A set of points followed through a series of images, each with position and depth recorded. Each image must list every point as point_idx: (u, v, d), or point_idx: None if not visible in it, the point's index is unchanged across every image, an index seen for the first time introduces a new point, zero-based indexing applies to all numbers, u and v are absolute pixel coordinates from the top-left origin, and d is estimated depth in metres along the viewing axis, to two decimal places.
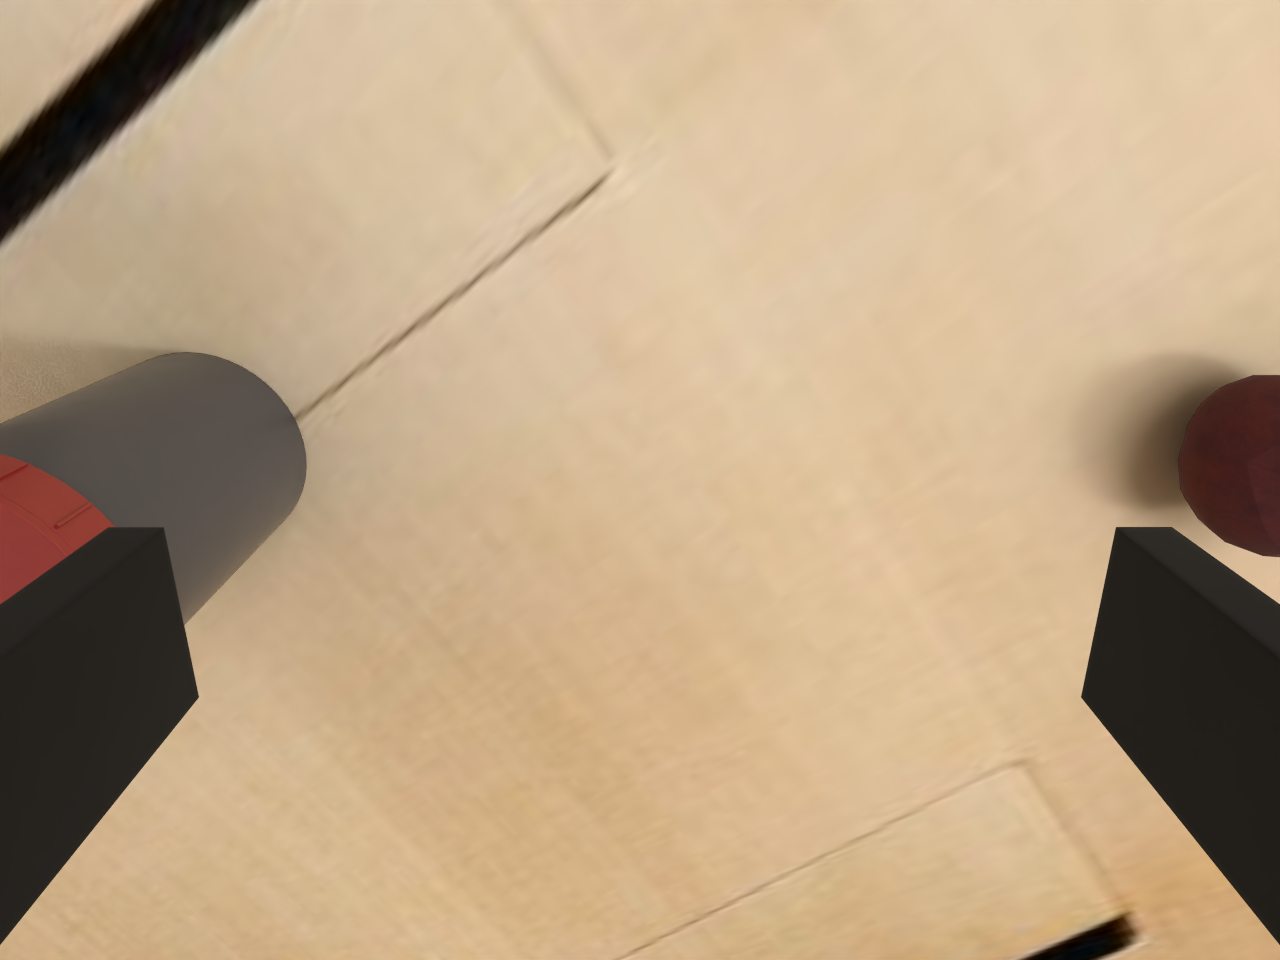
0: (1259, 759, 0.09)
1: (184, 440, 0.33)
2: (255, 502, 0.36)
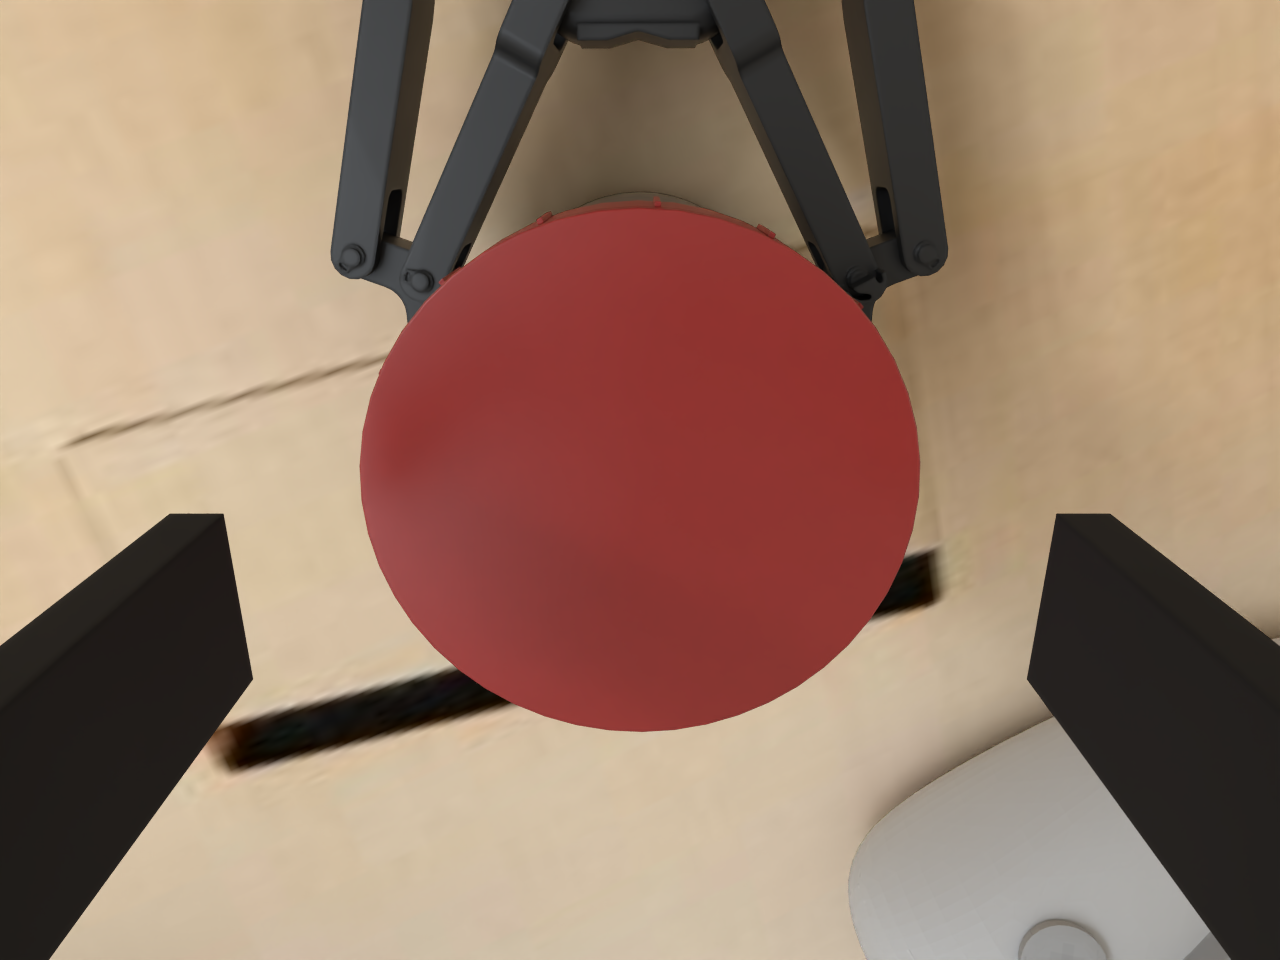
0: (1176, 731, 0.10)
1: None
2: None
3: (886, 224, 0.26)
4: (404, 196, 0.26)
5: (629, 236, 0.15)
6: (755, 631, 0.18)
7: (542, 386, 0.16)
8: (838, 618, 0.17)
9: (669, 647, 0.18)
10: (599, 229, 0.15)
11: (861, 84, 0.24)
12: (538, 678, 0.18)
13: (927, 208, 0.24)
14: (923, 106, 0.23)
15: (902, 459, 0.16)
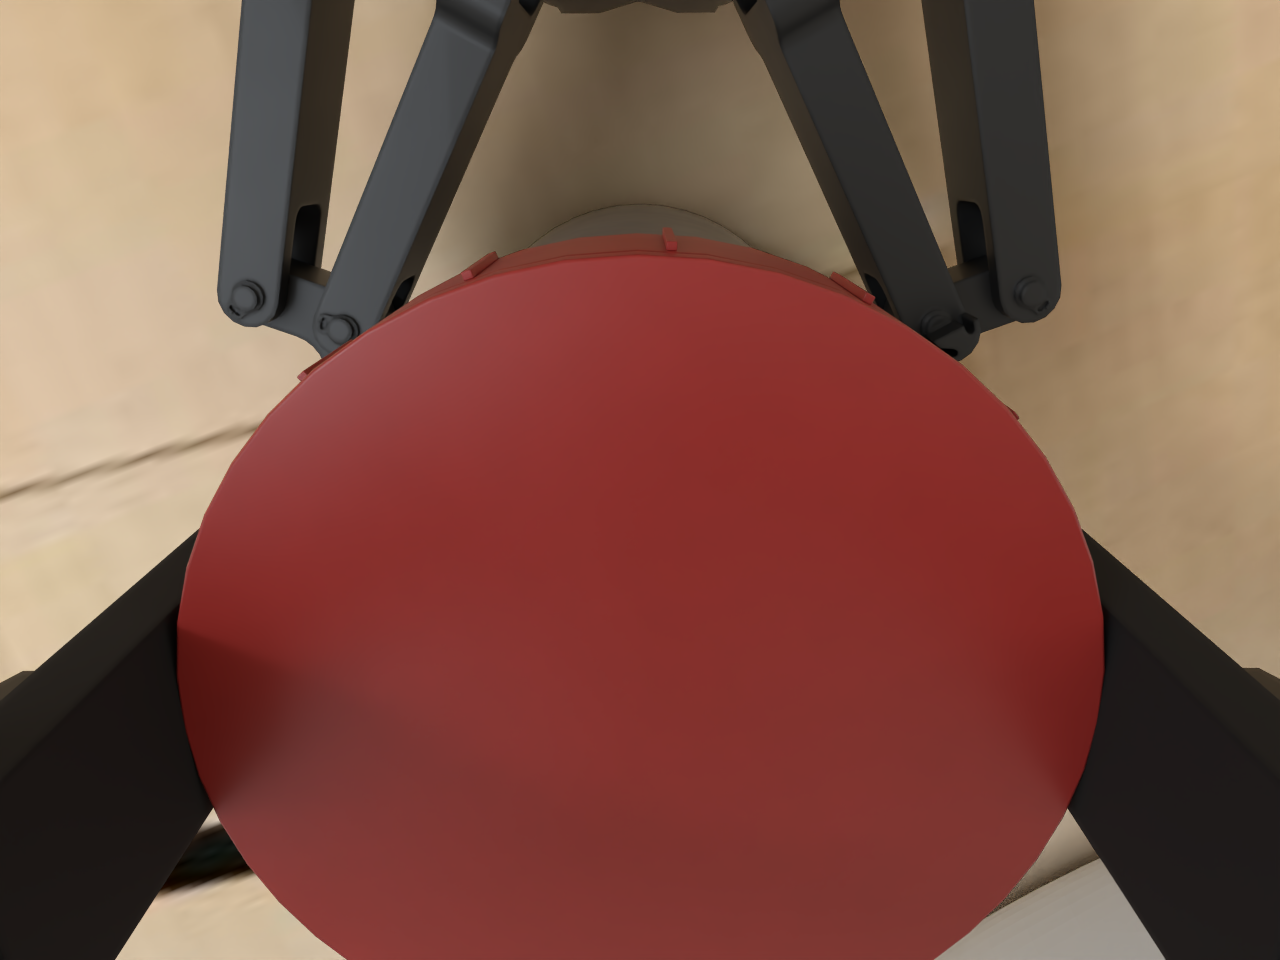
0: None
1: None
2: None
3: (970, 250, 0.19)
4: (325, 213, 0.19)
5: (622, 304, 0.08)
6: (823, 914, 0.11)
7: (475, 552, 0.09)
8: (956, 896, 0.11)
9: (686, 935, 0.11)
10: (568, 292, 0.08)
11: (943, 61, 0.18)
12: None
13: (1035, 231, 0.17)
14: (1036, 90, 0.16)
15: (1076, 665, 0.10)
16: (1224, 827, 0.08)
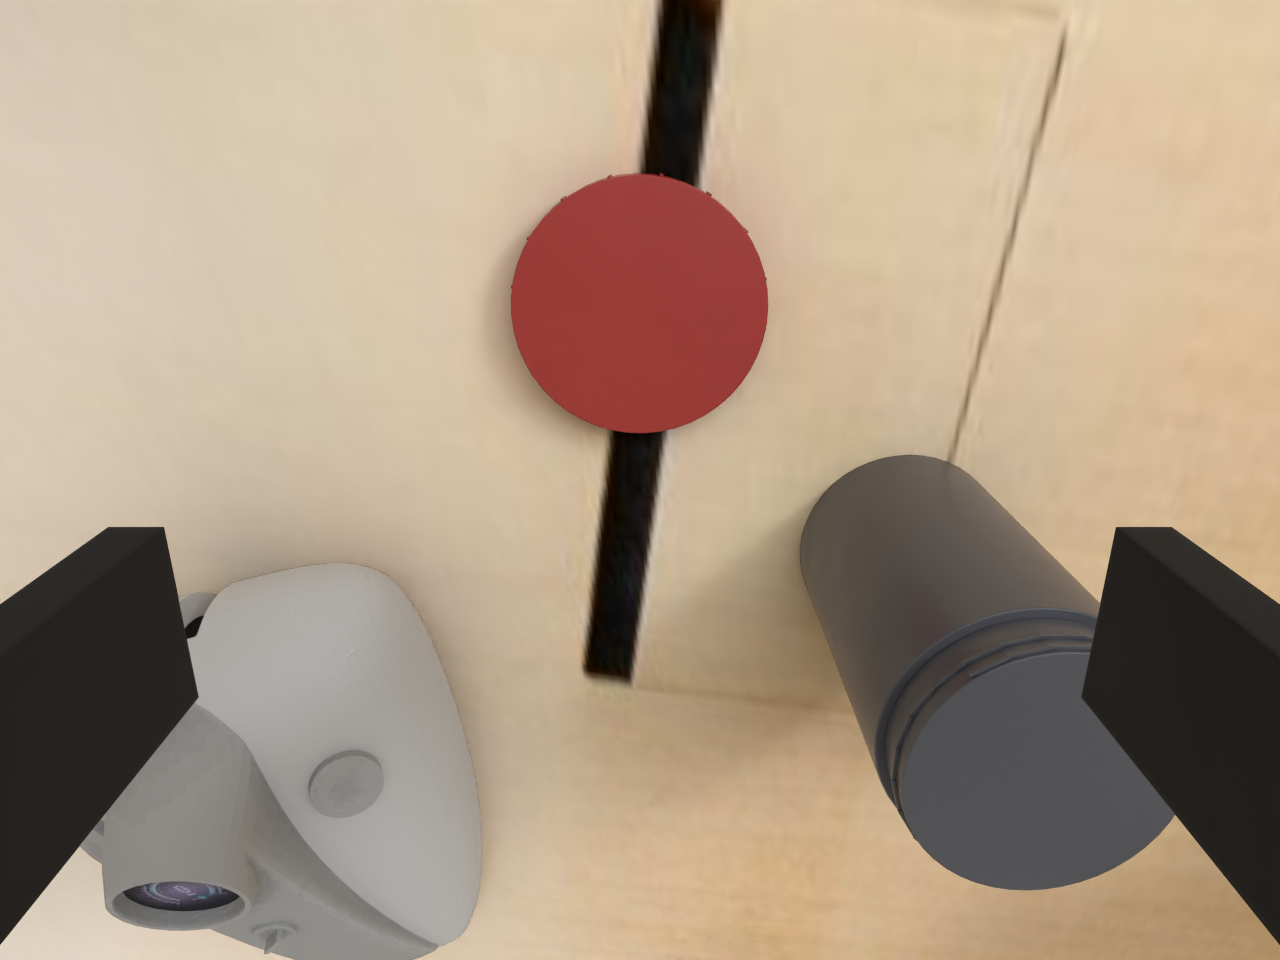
0: (1259, 759, 0.09)
1: (972, 523, 0.33)
2: (1031, 535, 0.36)
3: None
4: None
5: (522, 302, 0.36)
6: (716, 261, 0.35)
7: (582, 347, 0.36)
8: (714, 218, 0.35)
9: (719, 304, 0.36)
10: (518, 314, 0.36)
11: None
12: (727, 370, 0.37)
13: None
14: None
15: (632, 184, 0.34)
16: None
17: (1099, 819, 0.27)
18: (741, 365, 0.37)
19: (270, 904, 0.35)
